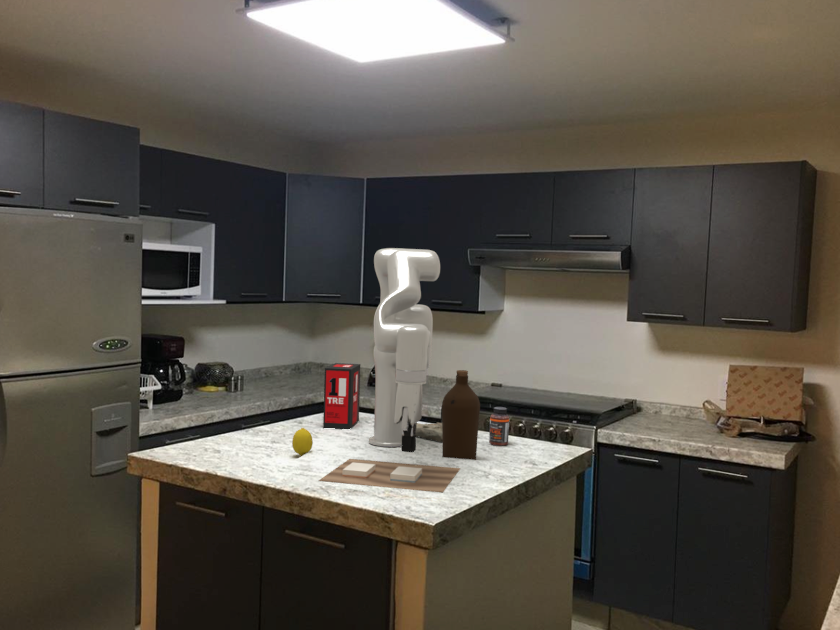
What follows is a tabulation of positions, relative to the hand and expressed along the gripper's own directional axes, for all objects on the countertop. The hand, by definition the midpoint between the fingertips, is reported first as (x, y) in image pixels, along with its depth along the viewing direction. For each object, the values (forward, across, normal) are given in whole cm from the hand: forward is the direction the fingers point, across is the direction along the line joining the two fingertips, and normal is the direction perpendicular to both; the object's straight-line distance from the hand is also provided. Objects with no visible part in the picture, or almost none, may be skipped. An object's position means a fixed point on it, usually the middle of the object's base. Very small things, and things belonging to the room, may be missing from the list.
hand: (408, 451), depth 188 cm
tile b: (+5, -3, 0) cm, 6 cm away
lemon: (+8, -17, -34) cm, 39 cm away
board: (+8, -1, -4) cm, 9 cm away
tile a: (+5, -3, -12) cm, 13 cm away
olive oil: (+8, -29, +8) cm, 31 cm away
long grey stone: (+8, -59, -9) cm, 60 cm away
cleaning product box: (+8, -66, -39) cm, 77 cm away
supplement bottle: (+8, -54, +16) cm, 56 cm away
